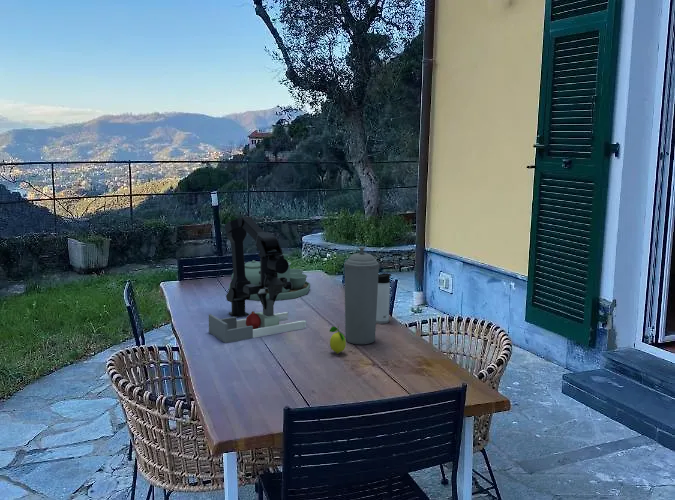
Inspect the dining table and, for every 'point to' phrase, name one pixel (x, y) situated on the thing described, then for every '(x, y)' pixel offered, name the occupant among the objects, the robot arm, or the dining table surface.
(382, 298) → the travel mug
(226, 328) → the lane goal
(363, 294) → the canister
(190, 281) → the dining table surface
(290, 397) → the dining table surface
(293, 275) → the tea set
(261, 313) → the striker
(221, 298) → the dining table surface
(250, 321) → the onion
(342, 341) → the lemon
